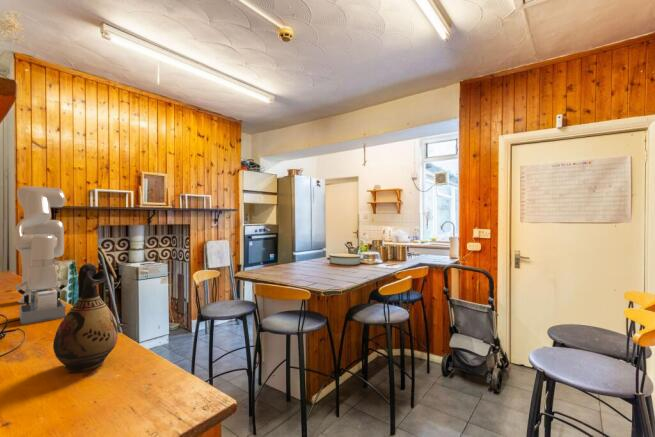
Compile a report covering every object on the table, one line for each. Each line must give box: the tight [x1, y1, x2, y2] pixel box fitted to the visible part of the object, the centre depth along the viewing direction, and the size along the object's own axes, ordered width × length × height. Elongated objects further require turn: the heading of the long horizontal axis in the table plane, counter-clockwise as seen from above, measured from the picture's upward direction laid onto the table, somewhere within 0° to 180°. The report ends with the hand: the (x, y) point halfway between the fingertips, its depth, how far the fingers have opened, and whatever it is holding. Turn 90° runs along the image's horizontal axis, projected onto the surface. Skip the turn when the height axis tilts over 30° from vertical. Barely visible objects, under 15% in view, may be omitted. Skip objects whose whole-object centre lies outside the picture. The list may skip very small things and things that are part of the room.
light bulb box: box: [30, 288, 57, 311], centre depth 140 cm, size 11×7×11 cm, turn 56°
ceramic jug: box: [52, 262, 119, 374], centre depth 95 cm, size 17×15×30 cm
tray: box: [18, 299, 66, 326], centre depth 140 cm, size 15×14×5 cm
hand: (42, 302), depth 140 cm, fingers open, 9 cm apart
